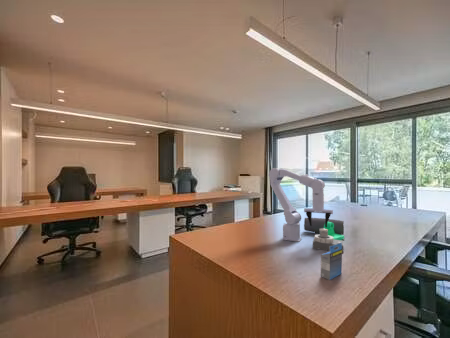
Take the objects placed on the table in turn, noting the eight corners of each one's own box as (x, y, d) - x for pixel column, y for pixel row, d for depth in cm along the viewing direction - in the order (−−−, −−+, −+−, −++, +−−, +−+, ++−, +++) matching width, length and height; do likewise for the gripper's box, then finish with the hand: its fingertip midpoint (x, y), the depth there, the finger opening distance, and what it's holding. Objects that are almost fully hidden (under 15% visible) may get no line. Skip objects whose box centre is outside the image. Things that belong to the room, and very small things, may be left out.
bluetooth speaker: (343, 234, 142) (343, 218, 142) (343, 238, 133) (343, 221, 134) (306, 230, 152) (306, 215, 153) (303, 233, 144) (303, 218, 145)
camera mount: (333, 243, 124) (332, 225, 124) (320, 240, 131) (320, 222, 131) (345, 240, 130) (344, 222, 131) (332, 237, 137) (332, 220, 137)
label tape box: (332, 270, 89) (332, 239, 90) (342, 274, 86) (342, 242, 86) (320, 276, 84) (319, 243, 84) (330, 280, 81) (330, 246, 81)
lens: (318, 241, 117) (318, 229, 117) (320, 239, 120) (320, 228, 120) (327, 242, 114) (327, 230, 114) (328, 240, 118) (328, 229, 118)
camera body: (312, 248, 116) (312, 237, 116) (314, 243, 124) (314, 233, 124) (343, 252, 109) (343, 241, 110) (343, 247, 117) (343, 236, 118)
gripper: (303, 201, 123) (303, 226, 123) (332, 203, 116) (332, 229, 116) (305, 200, 129) (305, 223, 129) (332, 201, 122) (333, 226, 122)
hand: (318, 226), depth 123 cm, fingers open, 7 cm apart
